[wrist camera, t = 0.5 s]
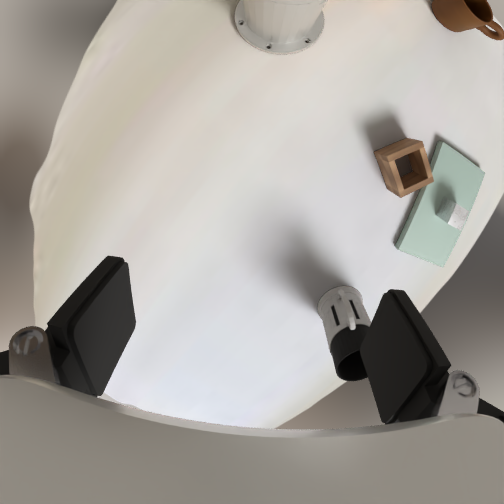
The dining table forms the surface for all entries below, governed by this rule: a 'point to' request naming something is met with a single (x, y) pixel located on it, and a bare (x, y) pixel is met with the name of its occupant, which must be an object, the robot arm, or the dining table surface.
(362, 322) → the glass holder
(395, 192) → the walnut collar
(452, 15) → the mug
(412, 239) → the base board
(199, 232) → the dining table surface
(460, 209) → the white plaster cube
